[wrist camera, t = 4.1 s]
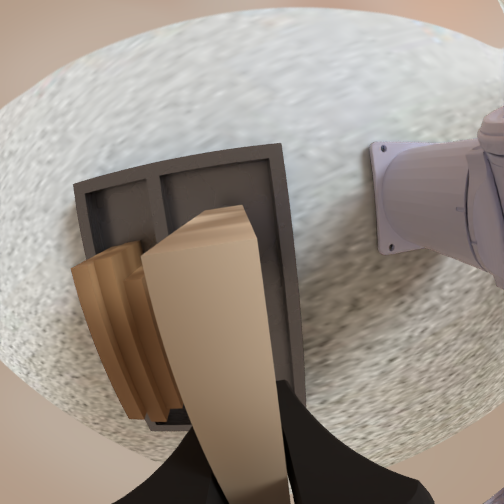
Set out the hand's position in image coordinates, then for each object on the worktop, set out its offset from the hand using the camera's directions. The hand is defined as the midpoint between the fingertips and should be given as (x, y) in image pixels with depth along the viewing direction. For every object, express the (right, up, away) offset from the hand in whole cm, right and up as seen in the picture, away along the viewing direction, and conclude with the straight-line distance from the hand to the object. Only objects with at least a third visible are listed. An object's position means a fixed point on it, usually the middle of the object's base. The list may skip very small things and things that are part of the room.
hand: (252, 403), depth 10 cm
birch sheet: (0, +1, +3) cm, 3 cm away
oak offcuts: (-7, +1, +9) cm, 12 cm away
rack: (-4, +2, +10) cm, 11 cm away
